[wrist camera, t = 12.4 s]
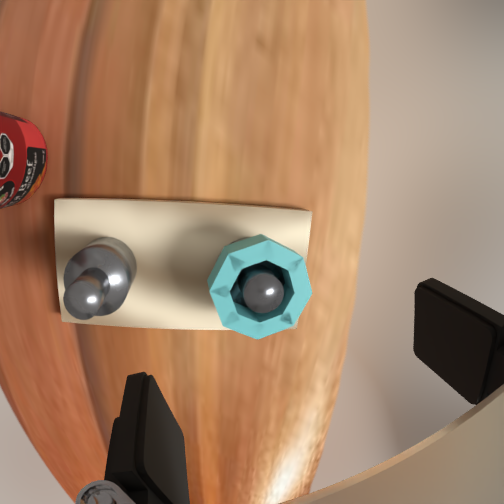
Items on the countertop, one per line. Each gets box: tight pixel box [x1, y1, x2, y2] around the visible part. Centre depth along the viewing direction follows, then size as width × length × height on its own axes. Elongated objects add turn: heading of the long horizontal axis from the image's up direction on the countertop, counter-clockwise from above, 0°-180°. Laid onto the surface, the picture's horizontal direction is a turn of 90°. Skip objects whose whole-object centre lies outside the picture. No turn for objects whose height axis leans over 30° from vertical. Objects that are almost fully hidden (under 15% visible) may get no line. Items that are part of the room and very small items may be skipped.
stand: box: [63, 237, 137, 320], centre depth 21 cm, size 5×5×8 cm
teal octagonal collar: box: [207, 234, 312, 339], centre depth 24 cm, size 7×7×2 cm
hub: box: [216, 237, 285, 313], centre depth 25 cm, size 6×6×6 cm
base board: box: [54, 198, 312, 330], centre depth 27 cm, size 11×22×2 cm, turn 86°
